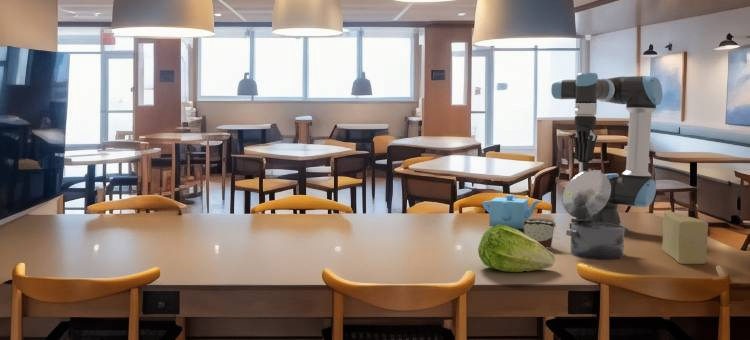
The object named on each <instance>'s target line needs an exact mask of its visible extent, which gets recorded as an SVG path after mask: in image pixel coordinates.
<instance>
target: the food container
mask: <svg viewBox="0 0 750 340" xmlns="http://www.w3.org/2000/svg"><path fill="white" fill-rule="evenodd" d="M522 225H524V228H523V234H525V235H526V236H528V237H530V238H532V239H534V240H536V241H537V242H539V243H540V244H541V245H542V246H544V247H548V248H547V249H552V244H553V237H554V230H555V229H554V228H556V227H557V226H556V222H555V220H552V219H549V218H540V217H539V218H537V217H536V218H535V217H534V218H533V217H532V218H531V217H530V218H528V219H524V221H523V223H522Z"/></svg>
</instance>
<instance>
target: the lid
mask: <svg viewBox="0 0 750 340" xmlns="http://www.w3.org/2000/svg"><path fill="white" fill-rule="evenodd" d="M604 174H605V173H603V172H601V171H599V170H593V169H590V170H589V169H588V171H584V172H582V173H580V174H579V173H578V174H576V175H575V176H573V177H572V178H571V179H570V180H569V181H568V182H567V184H566V186H565V188H564V190H563V192H562V193H563V194H562V197H561V198H562V199H561V200H562V202H561V203H562V207H563V209H564V210H565V212H566V213H567V214H568V215H569V216H571V217H573V218H571V219H570V220H571V221H570V223H578V222H592V221H593V219H592V218H588V217H591V216H593V215H595V214H597V213H598V212H599V211H600V210H602V209H603V207H604V206H605V205H606V203H607V202H608V200H609V197H610V194H611V184H610V181H609V179H608V178H607V177H606V176H605V175H604Z"/></svg>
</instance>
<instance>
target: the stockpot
mask: <svg viewBox="0 0 750 340" xmlns="http://www.w3.org/2000/svg"><path fill="white" fill-rule="evenodd" d="M565 233H566V236H569V237H570V254H571V255H573V256H575V257H579V258H583V259H589V260H602V261H603V260H604V261H605V260H606V261H607V260H608V261H609V260H618V259H622V258H623V257H624V251H625V250H624V248H625V245H624V244H625V234H629V228H626V227H624V226H623V225H621V226H620V225H617V224H611V223H602V222H578V223H572V222H569V229H567V230H566V232H565Z"/></svg>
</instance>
